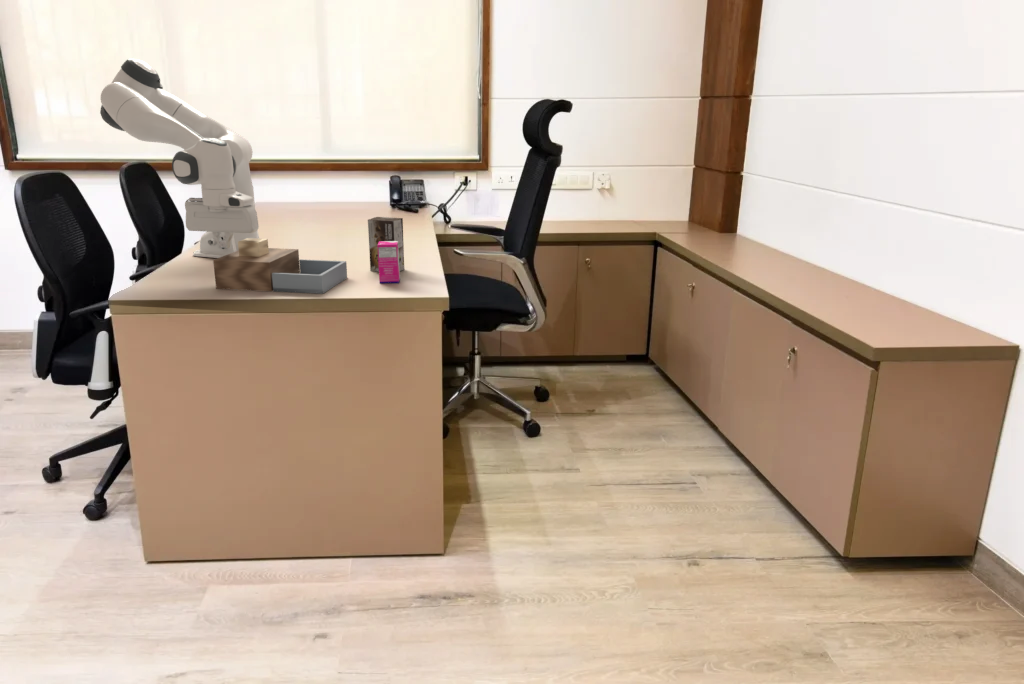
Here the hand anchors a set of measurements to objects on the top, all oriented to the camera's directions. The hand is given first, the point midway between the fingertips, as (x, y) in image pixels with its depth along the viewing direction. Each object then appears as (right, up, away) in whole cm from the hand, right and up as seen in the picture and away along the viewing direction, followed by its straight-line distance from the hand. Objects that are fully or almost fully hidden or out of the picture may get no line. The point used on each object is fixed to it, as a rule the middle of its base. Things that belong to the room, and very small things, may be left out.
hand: (224, 247), depth 213 cm
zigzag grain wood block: (+10, -10, +2) cm, 14 cm away
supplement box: (+46, -9, +5) cm, 48 cm away
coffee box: (+43, -5, +20) cm, 48 cm away
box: (+25, -10, 0) cm, 27 cm away
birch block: (+9, -2, 0) cm, 9 cm away
